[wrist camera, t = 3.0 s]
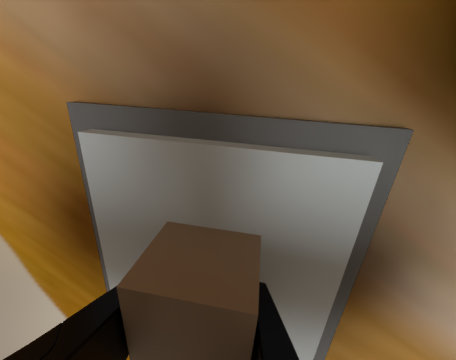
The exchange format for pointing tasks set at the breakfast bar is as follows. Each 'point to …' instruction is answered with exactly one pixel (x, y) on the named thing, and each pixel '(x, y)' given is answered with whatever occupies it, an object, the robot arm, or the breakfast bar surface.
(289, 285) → the lid
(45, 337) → the robot arm
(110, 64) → the breakfast bar surface
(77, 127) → the mat
